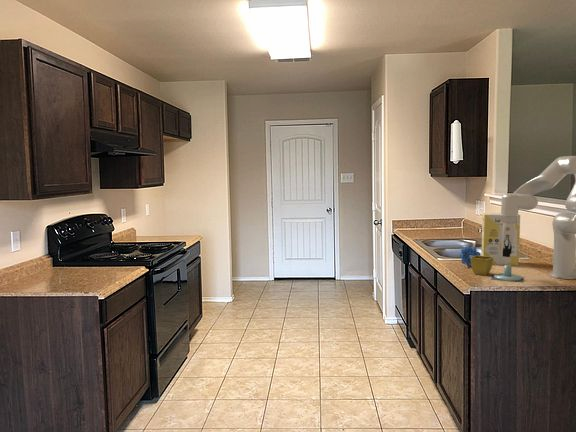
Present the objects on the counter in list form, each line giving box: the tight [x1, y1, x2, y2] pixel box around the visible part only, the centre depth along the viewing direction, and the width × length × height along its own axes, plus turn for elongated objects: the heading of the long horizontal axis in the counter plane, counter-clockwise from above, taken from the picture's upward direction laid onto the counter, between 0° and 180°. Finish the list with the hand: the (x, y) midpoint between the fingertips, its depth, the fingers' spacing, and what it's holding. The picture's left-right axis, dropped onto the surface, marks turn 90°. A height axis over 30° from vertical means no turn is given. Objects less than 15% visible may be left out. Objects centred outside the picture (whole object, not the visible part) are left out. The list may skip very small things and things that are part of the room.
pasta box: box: [480, 212, 521, 266], centre depth 270 cm, size 18×10×28 cm, turn 74°
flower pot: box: [470, 255, 493, 276], centre depth 242 cm, size 9×9×9 cm
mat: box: [490, 274, 525, 284], centre depth 231 cm, size 14×12×1 cm
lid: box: [493, 265, 522, 282], centre depth 231 cm, size 12×12×6 cm
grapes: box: [458, 244, 481, 268], centre depth 259 cm, size 12×7×12 cm, turn 85°
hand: (506, 255), depth 230 cm, fingers open, 9 cm apart
